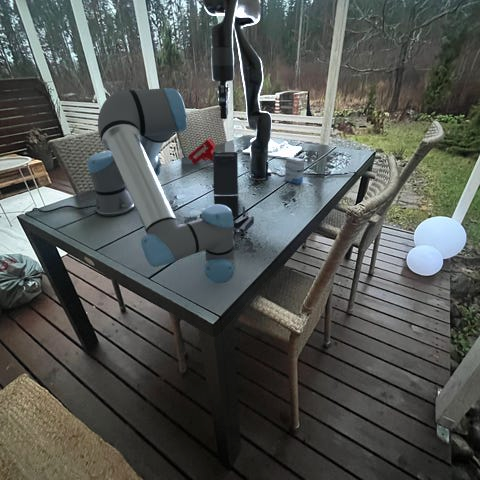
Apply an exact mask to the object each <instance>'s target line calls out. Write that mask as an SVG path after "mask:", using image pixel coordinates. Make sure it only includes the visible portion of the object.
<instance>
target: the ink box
mask: <svg viewBox="0 0 480 480" xmlns="http://www.w3.org/2000/svg"><path fill="white" fill-rule="evenodd" d="M305 162H306V159H304V158H299V157H296V156H294V157H289V158H287V159H286V158H285V169H284V175H285V176H284V181H285V182H289V183H293V184H295V185H298V184H300V183H302V182H303V180H304V175H303V173H305V171H304V170H305Z"/></svg>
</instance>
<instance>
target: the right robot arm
mask: <svg viewBox="0 0 480 480" xmlns="http://www.w3.org/2000/svg"><path fill="white" fill-rule="evenodd" d="M201 1H202V5H203V8H204V9H205V11H206V12H207V14H208V15H210V16H223V18H222V20H221V21H220V22H218V23H216V24H213V25H212V26H211V27H210V46H211V47H210V50H211V51H210V63H211V80H212V81H213V82H218V84H219V85H218V87H217V98H218V105H219V112H220V114H219V115H220V119H221V120H227V119H228V115H229V100H230V86H229V83H228V82H233V81H235V55H234V36H235V39H236V44H237V50H238V56H239V57H238V58H239V62H240V64H239V65H240V72H241V78H242V83H243V89H244V97H245V105H246V106H245V107H246V120H247V124H248V127H249V129H251V131H255V132H256V134H255V137H254V138H251V139H250V146H251V148H250V154H249V157H250V158H249V160H250V161H249V165H250V166H249V167H250V168H249V178H250V180H253V181H256V182H257V181H265V180H268V179H269V177H271V176H272V174H273V175H277V176H278V177H280V178H282V177H284V178H285V174H279V173H278V172H276V171H275V172H274V171H272V170H271V169H270V168H269V156H268V145H269V141H270V139H271V136H272V128H273V127H272V126H273V120H272V115H271V113H270V112H268V111H262V110H261V107H260V94H261V91H262V88H263V83H264V72H263V63H262V60H261V58H260V56H259V55H258V53H257V52H256V50H255V49H254V48H253V47H252V44H251V43H250V42H249V40H248V38H247V36H246V32H245V29H244V27H247V26H253V25H256V24H257V23H258V22H259V21H260V19H261V5H260V0H201ZM233 33H234V34H235V35H233ZM349 172H350V171H349ZM342 173H344V174H342ZM342 173H341V172H339V173H311V172H310V173H309V172H303V176H324V177H328V176H330V177H331V176H343V175H344V176H345V175H349V174H351V173H352V174H357V172H356V171H355V172H350V173H347V172H342Z"/></svg>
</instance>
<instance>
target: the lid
mask: <svg viewBox="0 0 480 480" xmlns="http://www.w3.org/2000/svg"><path fill="white" fill-rule="evenodd" d="M238 154H239V153H238V151H214V152H213V162H212V169H213V170H212V171H213V172H212V173H213V175H212V176H213V177H212V178H213V182H212V183H213V196H214V195H238V196H239V165H238V163H239V162H238V161H239V155H238Z"/></svg>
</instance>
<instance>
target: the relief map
mask: <svg viewBox="0 0 480 480" xmlns="http://www.w3.org/2000/svg"><path fill="white" fill-rule="evenodd" d="M302 147H303V146H294V145H292V144H290V143H289V142H288V141H284V142H282V143H280V144H279V143H278V142H276V141H273V140H272V139H271V138H270V141H269V145H268V157H271V158H277V159H285V160H286V159H287V158H289V157H296V156H297V155H298V154H299V153H300V152H302V151H303V150H304V148H303V149H302ZM250 148H251V145H250V146H249V147H248V148H247V149H245V150H242V153H243V154H247V155H248V154H249V155H250ZM296 153H297V154H296Z"/></svg>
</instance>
